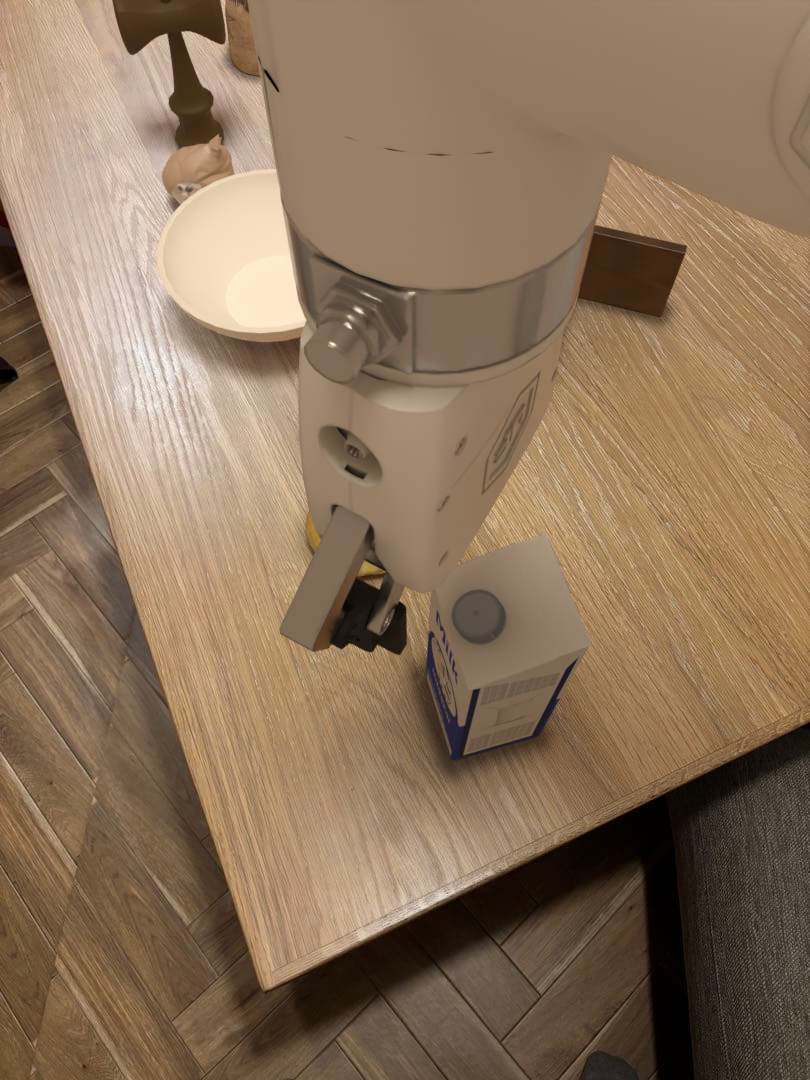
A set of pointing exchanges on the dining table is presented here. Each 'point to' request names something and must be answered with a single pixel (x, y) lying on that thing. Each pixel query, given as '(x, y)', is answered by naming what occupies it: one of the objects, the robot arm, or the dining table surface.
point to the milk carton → (502, 646)
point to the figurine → (241, 36)
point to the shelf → (630, 270)
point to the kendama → (177, 55)
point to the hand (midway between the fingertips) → (427, 539)
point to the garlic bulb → (196, 168)
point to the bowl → (233, 259)
